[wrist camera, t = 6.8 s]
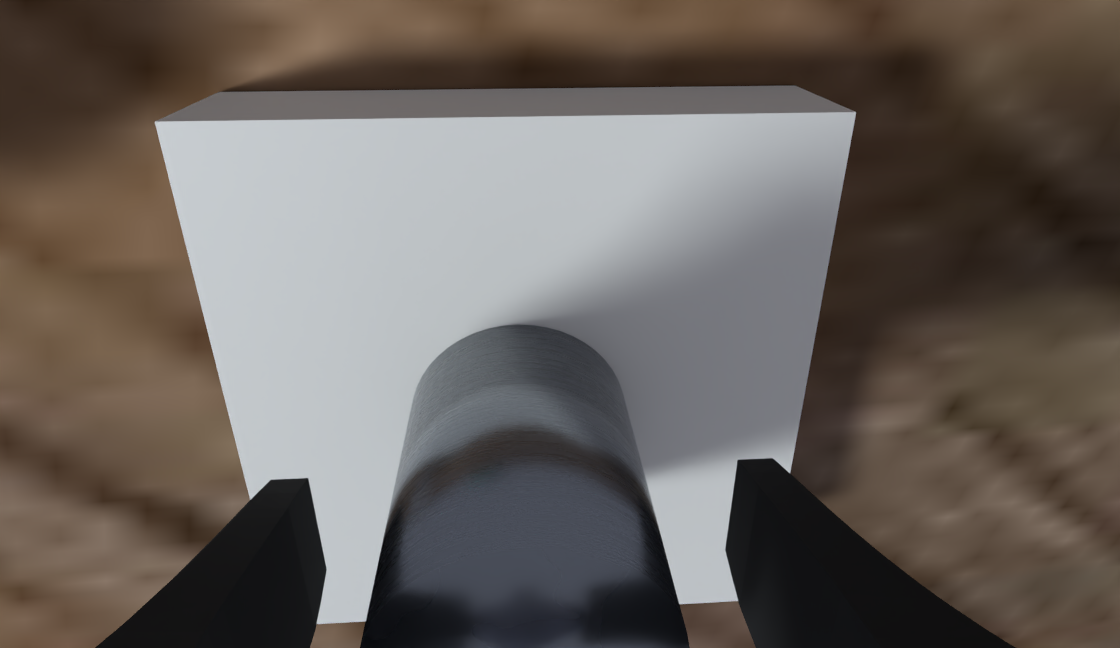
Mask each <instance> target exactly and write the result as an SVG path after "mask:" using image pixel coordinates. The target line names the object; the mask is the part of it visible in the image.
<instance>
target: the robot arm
mask: <svg viewBox="0 0 1120 648" xmlns="http://www.w3.org/2000/svg"><path fill="white" fill-rule="evenodd" d="M725 551H726V555H727V559H728V563H729V567H730V571H731V575H732V579H733V583H734V587H735V590H736V594H737V598H738V601H739V605H740V608H741V610H742V613H743V616H744V618H745V621H746V623H747V626H748V629H749V631H750V634H751V636H752V639H753V641H754V644H755V646H756V648H1015V647H1014V646H1012V645H1010V644H1008V643H1007V642H1005V641H1004V640H1002V639H1000V638H999V637H997V636H996V635H994V634H993V633H991V632H989V631H988V630H986V629H985V628H983V627H981V626H980V625H979V624H977V623H976V622H974V621H973V620H971V619H970V618H968V617H967V616H965V615H964V614H962V613H961V612H959V611H958V610H956V609H955V608H953V607H952V606H950V605H949V604H947V603H946V602H944V601H943V600H942V599H940V598H939V597H937V596H936V595H935V594H933V593H932V592H930V591H929V590H928V589H926V588H925V587H924V586H922V585H921V584H919V583H918V582H917V581H916V580H914V579H913V578H912V577H910V576H909V575H908V574H907V573H905V572H904V571H903V570H901V569H900V568H899V567H897V566H896V565H895V564H894V563H892V562H891V561H890V560H888V559H887V558H886V557H885V556H883V555H882V554H881V553H880V552H879V551H877V550H876V549H875V548H874V547H872V546H871V545H870V544H869V543H868V542H866V541H865V540H864V539H863V538H862V537H860V536H859V535H858V534H857V533H856V532H855V531H853V530H852V529H851V528H850V527H849V526H848V525H846V524H845V523H844V522H843V521H842V520H841V519H840V518H838V517H837V516H836V515H835V514H834V513H833V512H832V511H831V510H829V509H828V508H827V507H826V506H825V505H824V504H823V503H822V502H821V501H819V500H818V499H817V498H816V497H815V496H814V495H813V494H812V493H811V492H810V491H808V490H807V489H806V488H805V487H804V486H803V485H802V484H801V483H800V482H799V481H798V480H796V479H795V478H794V477H793V476H792V475H791V474H790V473H789V472H788V471H787V470H786V469H784V468H783V467H782V466H781V465H780V464H779V463H778V462H777V461H775V460H774V459H773V458H765V459H742V460H738V461H737V468H736V475H735V482H734V490H733V497H732V504H731V511H730V518H729V525H728V533H727V540H726V547H725ZM326 571H327V569H326V564H325V559H324V554H323V549H322V544H321V539H320V534H319V529H318V524H317V519H316V514H315V509H314V504H313V499H312V494H311V489H310V484H309V480H308V478H298V479H275V480H270V481H269V482H268V483H267V484H266V485H265V486H264V487H263V488H262V489H261V490H260V491H259V492H258V493H257V494H256V495H255V496H254V497H253V498H252V499H251V500H250V501H249V502H248V503H247V504H246V505H245V506H244V507H243V508H242V509H241V510H240V511H239V512H238V514H237V515H236V516H235V517H234V518H233V519H232V520H231V521H230V522H229V523H228V524H227V525H226V526H225V527H224V528H223V529H222V530H221V531H220V532H219V533H218V534H217V535H216V536H215V537H214V538H213V539H212V540H211V541H210V542H209V543H208V544H207V545H206V546H205V547H204V548H203V549H202V550H201V551H200V552H199V553H198V554H197V555H196V556H195V557H194V558H193V559H192V560H191V561H190V562H189V563H188V564H187V565H186V566H185V567H184V568H183V569H182V570H181V571H180V572H179V573H178V574H177V575H176V576H175V577H174V578H173V579H172V580H171V581H170V582H169V583H168V584H167V585H166V586H165V587H163V588H162V589H161V590H160V591H159V592H158V593H157V594H156V595H155V596H154V597H153V598H151V599H150V600H149V601H148V602H147V603H146V604H145V605H144V606H143V607H142V608H141V609H140V610H138V611H137V612H136V613H135V614H134V615H133V616H132V617H131V618H130V619H129V620H127V621H126V622H125V623H124V624H123V625H122V626H120V627H119V628H118V629H117V630H116V631H115V632H113V633H112V634H111V635H110V636H109V637H107V638H106V639H105V640H104V641H103V642H101V643H100V644H99V645H98V646H97V647H95V648H310V645H311V642H312V639H313V635H314V632H315V629H316V624H317V619H318V614H319V609H320V604H321V599H322V593H323V588H324V582H325V577H326Z"/></svg>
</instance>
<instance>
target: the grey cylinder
mask: <svg viewBox="0 0 1120 648" xmlns="http://www.w3.org/2000/svg"><path fill="white" fill-rule="evenodd" d="M360 648H689V642H688V636H687V632H686V628H685V624H684V620H683V616H682V613H681V609H680V605H679V601H678V598H677V594H676V590H675V586H674V583H673V579H672V575H671V571H670V568H669V564H668V560H667V556H666V553H665V549H664V545H663V541H662V538H661V534H660V530H659V526H658V523H657V519H656V515H655V511H654V508H653V504H652V500H651V496H650V493H649V489H648V485H647V481H646V478H645V474H644V470H643V466H642V463H641V459H640V455H639V451H638V448H637V444H636V440H635V436H634V433H633V429H632V425H631V421H630V418H629V414H628V410H627V406H626V403H625V399H624V395H623V392H622V389H621V386H620V383H619V381H618V379H617V377H616V375H615V373H614V371H613V370H612V368H611V367H610V366H609V364H608V363H607V362H606V360H605V359H604V358H603V357H602V356H601V355H600V354H599V353H598V352H597V351H595V350H594V349H593V348H591V347H590V346H589V345H587V344H586V343H584V342H583V341H581V340H579V339H577V338H575V337H574V336H571V335H569V334H566V333H564V332H562V331H558V330H555V329H551V328H547V327H542V326H535V325H506V326H499V327H494V328H489V329H485V330H482V331H479V332H476V333H473V334H471V335H469V336H467V337H465V338H463V339H461V340H459V341H457V342H456V343H454V344H453V345H451V346H450V347H448V348H447V349H446V350H444V351H443V352H442V353H441V354H440V355H439V356H437V357H436V359H435V360H434V361H433V362H432V363H431V364H430V365H429V366H428V368H427V369H426V371H425V372H424V374H423V375H422V377H421V379H420V381H419V383H418V385H417V388H416V391H415V394H414V397H413V401H412V406H411V411H410V415H409V420H408V425H407V429H406V434H405V439H404V444H403V448H402V453H401V458H400V462H399V467H398V472H397V477H396V481H395V486H394V491H393V495H392V500H391V505H390V510H389V514H388V519H387V524H386V528H385V533H384V538H383V543H382V547H381V552H380V557H379V561H378V566H377V571H376V575H375V580H374V585H373V590H372V594H371V599H370V604H369V608H368V613H367V618H366V623H365V627H364V632H363V637H362V641H361V646H360Z"/></svg>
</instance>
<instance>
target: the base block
mask: <svg viewBox="0 0 1120 648" xmlns="http://www.w3.org/2000/svg"><path fill="white" fill-rule="evenodd" d="M855 116H856V112H855V111H853V110H850V109H848V108H846V107H843V106H841V105H839V104H836V103H834V102H832V101H830V100H827V99H825V98H823V97H820V96H818V95H816V94H813V93H811V92H809V91H807V90H804V89H802V88H800V87H797V86H707V87H618V88H529V89H440V90H351V91H262V92H218V93H216V94H214V95H211V96H209V97H207V98H205V99H203V100H201V101H198V102H196V103H194V104H192V105H190V106H188V107H185V108H183V109H181V110H179V111H177V112H174V113H172V114H170V115H168V116H166V117H164V118H161V119H159V120H157V121H155V125H156V129H157V133H158V137H159V141H160V145H161V149H162V153H163V157H164V161H165V164H166V168H167V172H168V176H169V180H170V184H171V188H172V192H173V196H174V200H175V204H176V208H177V212H178V216H179V220H180V224H181V228H182V232H183V236H184V240H185V244H186V248H187V252H188V255H189V259H190V263H191V267H192V271H193V275H194V279H195V283H196V287H197V291H198V295H199V299H200V303H201V307H202V311H203V315H204V319H205V323H206V327H207V331H208V335H209V339H210V342H211V346H212V350H213V354H214V358H215V362H216V366H217V370H218V374H219V378H220V382H221V386H222V390H223V394H224V398H225V402H226V406H227V410H228V414H229V418H230V422H231V426H232V430H233V433H234V437H235V441H236V445H237V449H238V453H239V457H240V461H241V465H242V469H243V473H244V477H245V481H246V485H247V489H248V493H249V497H250V500H251V499H252V498H253V497H254V496H255V495H256V494H257V493H258V492H259V491H260V490H261V489H262V488H263V487H264V486H265V485H266V484H267V483H268V482H269V481H270V480H275V479H298V478H308V480H309V484H310V489H311V494H312V499H313V504H314V509H315V514H316V519H317V524H318V529H319V534H320V539H321V544H322V549H323V554H324V559H325V564H326V569H327V571H326V577H325V582H324V588H323V593H322V599H321V604H320V609H319V614H318V619H317V624H326V623H344V622H362V621H366V618H367V613H368V608H369V604H370V599H371V594H372V590H373V585H374V580H375V575H376V571H377V566H378V561H379V557H380V552H381V547H382V543H383V538H384V533H385V528H386V524H387V519H388V514H389V510H390V505H391V500H392V495H393V491H394V486H395V481H396V477H397V472H398V467H399V462H400V458H401V453H402V448H403V444H404V439H405V434H406V429H407V425H408V420H409V415H410V411H411V406H412V401H413V397H414V394H415V391H416V388H417V385H418V383H419V381H420V379H421V377H422V375H423V374H424V372H425V371H426V369H427V368H428V366H429V365H430V364H431V363H432V362H433V361H434V360H435V359H436V357H437V356H439V355H440V354H441V353H442V352H443V351H444V350H446V349H447V348H448V347H450V346H451V345H453V344H454V343H456V342H457V341H459V340H461V339H463V338H465V337H467V336H469V335H471V334H473V333H476V332H479V331H482V330H485V329H489V328H494V327H499V326H506V325H535V326H542V327H547V328H551V329H555V330H558V331H562V332H564V333H566V334H569V335H571V336H574V337H575V338H577V339H579V340H581V341H583V342H584V343H586V344H587V345H589V346H590V347H591V348H593V349H594V350H595V351H597V352H598V353H599V354H600V355H601V356H602V357H603V358H604V359H605V360H606V362H607V363H608V364H609V366H610V367H611V368H612V370H613V371H614V373H615V375H616V377H617V379H618V381H619V383H620V386H621V389H622V392H623V395H624V399H625V403H626V406H627V410H628V414H629V418H630V421H631V425H632V429H633V433H634V436H635V440H636V444H637V448H638V451H639V455H640V459H641V463H642V466H643V470H644V474H645V478H646V481H647V485H648V489H649V493H650V496H651V500H652V504H653V508H654V511H655V515H656V519H657V523H658V526H659V530H660V534H661V538H662V541H663V545H664V549H665V553H666V556H667V560H668V564H669V568H670V571H671V575H672V579H673V583H674V586H675V590H676V594H677V598H678V601H679V604H691V603H709V602H727V601H738V598H737V594H736V590H735V587H734V583H733V579H732V575H731V571H730V567H729V563H728V559H727V555H726V551H725V547H726V540H727V533H728V525H729V518H730V511H731V504H732V497H733V490H734V482H735V475H736V468H737V461H738V460H742V459H765V458H773V459H774V460H775V461H777V462H778V463H779V464H780V465H781V466H782V467H783V468H784V469H786V470H787V471H788V472H789V473H790V472H791V466H792V461H793V455H794V450H795V444H796V439H797V433H798V428H799V422H800V417H801V411H802V406H803V400H804V395H805V390H806V384H807V379H808V373H809V368H810V362H811V357H812V351H813V346H814V340H815V335H816V329H817V324H818V318H819V313H820V308H821V302H822V297H823V291H824V286H825V280H826V275H827V269H828V264H829V258H830V253H831V247H832V242H833V236H834V231H835V226H836V220H837V215H838V209H839V204H840V198H841V193H842V187H843V182H844V176H845V171H846V165H847V160H848V154H849V149H850V144H851V138H852V133H853V127H854V122H855Z"/></svg>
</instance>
